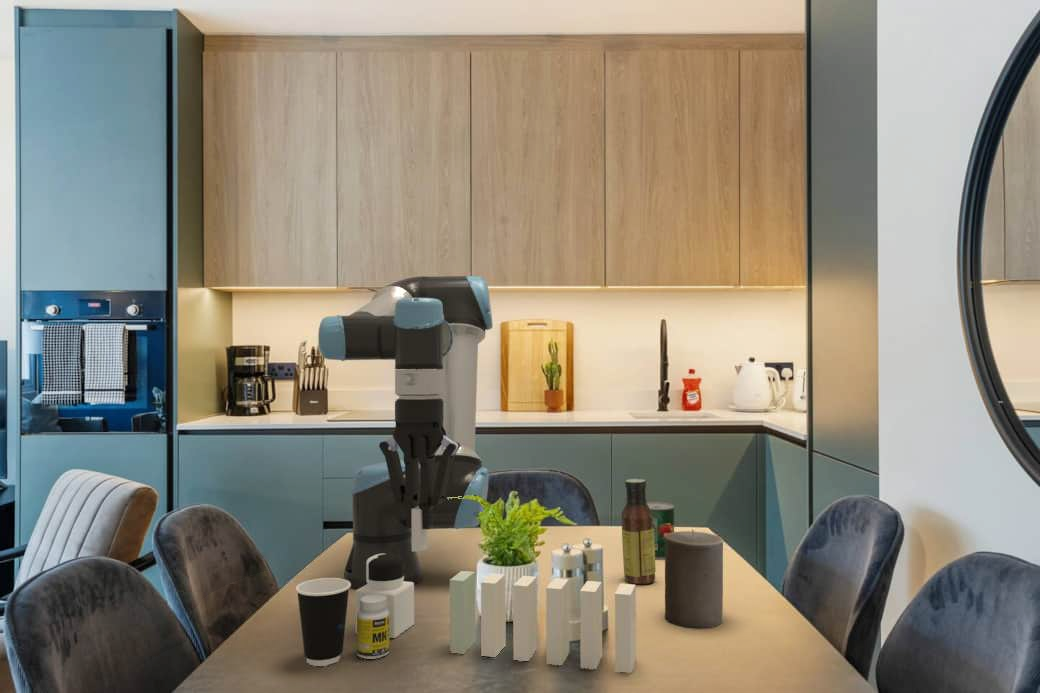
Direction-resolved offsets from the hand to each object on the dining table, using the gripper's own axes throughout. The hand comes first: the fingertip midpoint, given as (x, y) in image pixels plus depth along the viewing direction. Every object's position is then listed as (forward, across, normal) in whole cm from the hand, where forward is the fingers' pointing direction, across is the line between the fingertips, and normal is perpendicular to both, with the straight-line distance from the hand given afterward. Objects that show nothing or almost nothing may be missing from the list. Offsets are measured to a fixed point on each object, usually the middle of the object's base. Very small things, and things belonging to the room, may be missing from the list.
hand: (419, 549), depth 120 cm
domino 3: (+15, +22, 0) cm, 26 cm away
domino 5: (+15, +32, 0) cm, 35 cm away
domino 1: (+15, +12, 0) cm, 19 cm away
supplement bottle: (+15, -5, -6) cm, 17 cm away
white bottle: (+15, -8, +4) cm, 17 cm away
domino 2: (+15, +17, 0) cm, 22 cm away
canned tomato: (+14, +29, +63) cm, 71 cm away
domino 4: (+15, +27, 0) cm, 31 cm away
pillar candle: (+15, +40, +23) cm, 49 cm away
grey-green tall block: (+15, +7, 0) cm, 16 cm away
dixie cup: (+15, -11, -10) cm, 21 cm away
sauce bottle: (+14, +28, +42) cm, 53 cm away
